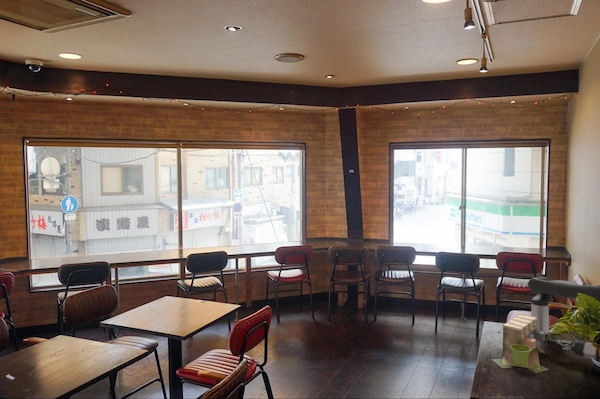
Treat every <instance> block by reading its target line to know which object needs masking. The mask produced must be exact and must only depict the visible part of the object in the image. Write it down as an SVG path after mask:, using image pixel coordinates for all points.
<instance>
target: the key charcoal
mask: <svg viewBox="0 0 600 399" xmlns="http://www.w3.org/2000/svg"><path fill="white" fill-rule="evenodd" d="M532 334H534V339H536V340H537V342H538V341H539V342H544V341H545V340H546V335H545V332H542V331H537V330H534V331H532Z"/></svg>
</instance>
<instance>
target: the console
mask: <svg viewBox="0 0 600 399" xmlns="http://www.w3.org/2000/svg"><path fill="white" fill-rule="evenodd" d="M534 330H537V317H532V316H531V315H525V314H522V313H521V314H518V315H516V316H515V317H514V318H512V319H510V320H508V321H506V322H505V323H504V324H503V325H502V356H503V357H506V358H507V357H508V358H512V359H513V354H512V350H511V348H510V346H511V345H514V344H520V345H523V338H524V337H527V338H528V334H532V331H534ZM537 342H538V340H536V348H537V345H538V344H537ZM533 350H534V349H531V351H530V353H531V352H532V351H533Z"/></svg>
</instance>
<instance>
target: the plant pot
mask: <svg viewBox="0 0 600 399" xmlns="http://www.w3.org/2000/svg"><path fill="white" fill-rule="evenodd" d="M510 348H511V350H512V354H513V358H512V360H513V361H512V362H513V365H515V366H516V367H517V366H518V367H520V368H525V367H527V366H528V362H529V356H530V353H531V352H532V351H531V348H530V347H528V346H525V345H520V344H514V345H511V346H510ZM530 351H531V352H530Z"/></svg>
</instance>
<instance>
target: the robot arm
mask: <svg viewBox="0 0 600 399" xmlns="http://www.w3.org/2000/svg"><path fill="white" fill-rule="evenodd" d="M527 287H528V290H529V291H531V292H532V293H534V294H536V295H535V296H533V297H532V298H531V302H530V303H531V306H530V307H531V308H530V309H531V312H530V313H531V314H530V316H532V317H537V331H542V332H545V336H546V335H548V334H549V332H550V316H549V311H550V308H549V306H550V301H551V297H552V296H555V297H559V298H563V299H564V298H566V299H570V300H571V299H572V300H577V299H576V297H577V296H578V295H577V292H578V293H582V294H585V295H588V296H591V297H593V298H596V299H595V300H598V301H599V302H600V285H599V284H593V285H592V284H589V285H588V284H580V283H577V282H576V281H569V280H561V279H560V280H550V278H548V277H546V276H538V277H537V276H536V277H532V278H530V279H529V280H528V282H527ZM551 295H552V296H551ZM547 340H548V341H547V343H548V344H550V345H554V346H556V348H557V349H559V350H561V351H563V352H566V351H569V352H574V355H575V356H579V357H583V358H587V359H590V360H597V358H598V355H599V354H598V353H599V352H598V351H597V349H596V348H595V347H594V346H593V345H592V343H593V342H590V341H585V340H580V339H576V340H575V341H573V339H566V338H563V339H561V338H559V339H553V338H548V339H547Z"/></svg>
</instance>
